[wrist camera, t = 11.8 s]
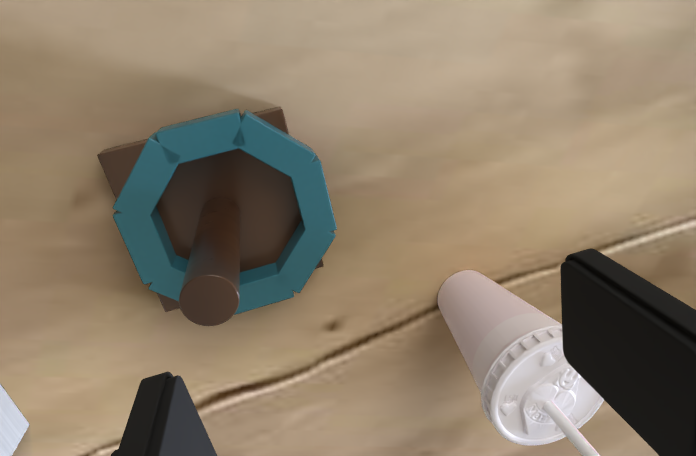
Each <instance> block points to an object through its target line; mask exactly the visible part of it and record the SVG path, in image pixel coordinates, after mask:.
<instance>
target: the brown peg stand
mask: <svg viewBox="0 0 696 456" xmlns="http://www.w3.org/2000/svg"><path fill="white" fill-rule="evenodd" d="M252 114H254V115H256V116H257V117H259V118H261V119H263V120H264V121H266V122H268V123H269V124H271V125H273V126H274V127H276V128H278V129H280V130H281V131H283V132H285V133H286V134H288V135H289V133H288V129H287V125H286V122H285V118H284V114H283V110H282V109H281V107H276V108H272V109H268V110H264V111H260V112H255V113H252ZM147 140H148V139H146V140H142V141H138V142H134V143H130V144H126V145H122V146H118V147H114V148H110V149H106V150H103V151H102V152H101V153H99V154H98V155H97V156H98V158H99V160H100V163H101V165H102V167H103V170H104V172H105V174H106V177H107V179H108V181H109V183H110V186H111V188H112V190H113V193H114V195H115V197H116V200H117V198H118V197H119V195H120V193H121V191H122V189H123V187H124V185H125V183H126V181H127V179H128V177H129V175H130V173H131V171H132V169H133V167H134V165H135V163H136V161H137V159H138V158H139V156H140V154H141V152H142V150H143V148H144V146H145V144H146V142H147ZM156 206H157V209H158V211H159V214H160V216H161V219H162V221H163V224H164V226H165V229H166V231H167V234H168V236H169V239H170V241H171V243H172V246H173V248H174V251H175V253H176V255H178V256H180V257H182V258H184V259H187V260H188V264H187V268H186V272H185V276H184V280H183V284H182V288H181V292H180V296H179V301H176V300H174V299H171V298H169V297H167V296H164V295H162V294H159V293H157V294H158V296H159V298H160V301H161V303H162V305H163V308H164V310H165V312H168V311H171V310H175V309H178V308H180V309H181V311H182V313H183V314H184V315H185V316H186V317H187V318H188V319H189V320H190V321H192V322H194V323H196V324H199V325H203V326H214V325H219V324H222V323H224V322H226V321H227V320H229V319H230V318H231V317H232V316H233V315H234V314H235V312H236V311H237V309H238V306H239V295H240V272H244V271H247V270H251V269H254V268H258V267H261V266H265V265H268V264H272V263H275V262H276V261H277V259H278V258H279V256H280V255H281V253H282V251H283V250H284V248H285V246H286V245H287V243H288V241H289V240H290V238H291V237H292V235H293V233H294V232H295V230H296V228H297V227H298V225H299V224H300V222H301V220H302V219H301V215H300V212H299V208H298V204H297V201H296V197H295V194H294V190H293V186H292V183H291V179H290V177H289V176H287V175H285V174H283V173H282V172H280V171H278V170H276V169H274V168H273V167H271V166H269V165H267V164H265V163H264V162H262V161H260V160H258V159H256V158H255V157H253V156H251V155H249V154H247V153H245V152H244V151H242V150H240V149H235V150H231V151H227V152H223V153H219V154H215V155H212V156H208V157H204V158H200V159H196V160H192V161H188V162H184V163H180V164H178V166H177V168H176V170H175V172H174V173H173V175H172V177H171V179H170V181H169V183H168V185H167V187H166V188H165V190H164V192H163V194H162V196H161V198H160V200H159V201H158V203H157V205H156ZM319 267H323V262H322V259H321V260H320V261H319V263H318V265H317V266H316V268H319ZM316 268H315V269H316Z"/></svg>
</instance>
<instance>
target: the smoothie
mask: <svg viewBox="0 0 696 456" xmlns="http://www.w3.org/2000/svg"><path fill="white" fill-rule="evenodd" d="M437 302H438V307H439V309H440V311H441V313H442V315H443V317H444V319H445V321H446V323H447V325H448V327H449V329H450V331H451V333H452V335H453V337H454V339H455V341H456V343H457V345H458V347H459V349H460V351H461V353H462V355H463V357H464V359H465V361H466V363H467V365H468V368H469V370H470V372H471V374H472V376H473V378H474V380H475V382H476V384H477V386H478V388H479V390H480V392H481V402H482V408H483V410H484V412H485V415H486V417H487V419H488V420H489V421H490V422H491V423H492V424H493V425H494V427H495V428H496V430H497V431H498V432H499V434H500V435H501V436H503V437H504V438H505V439H507V440H509V441H511V442H513V443H516V444H520V445H542V444H547V443H551V442H554V441H557V440H559V439H562V438H564V437H567V438H568V439H569V440H570V441H571V443H572V444H573V445H574V446H575V447H576V448H577V450H578V451H579V452H580V453H581V454H582V456H600V455H599V454H598V453H597V451H596V450H595V449H594V448H593V447H592V446H591V445H590V443H589V442H588V441H587V440H586V439H585V438H584V437H583V435H582V434H581V433H580V432H579V431H578V430H577V429H579V428H580V427H581V426H582V425H584V424H585V423H586V422H587V421H588V420H589V419H590V418H591V417H592V416H593V415H594V414H595V412H596V411H597V410H598V409H599V407H600V405H601V404H602V402H603V401H604V399H603V398H602V397H601V396H600V395H599V394H598V393H597V392H596V391H595V390H594V389H593V388H592V387H591V386H590V385H589V384H588V383H587V382H586V381H585V380H584V379H583V378H582V377H581V376H580V375H579V374H578V373H577V372H576V371H575V369H574V368H573V367H572V366H571V365H570V364H569V363H568V362H567V360H566V358H565V356H564V353H563V338H562V324H560V323H559V322H557V321H556V320H554V319H553V318H551V317H549V316H547V315H546V314H544V313H543V312H541V311H540V310H538V309H536V308H535V307H533V306H532V305H530V304H529V303H527V302H525V301H524V300H522V299H521V298H519V297H518V296H516V295H514V294H513V293H511V292H510V291H508V290H507V289H505V288H503V287H502V286H500V285H499V284H497V283H496V282H494V281H492V280H491V279H489V278H488V277H486V276H484V275H483V274H481V273H480V272H477V271H474V270H464V271H460V272H457V273H455V274H453V275H452V276H450V277H449V278H448V279H447V280H446V281H445V282H444V283H443V285H442V286H441V288H440V290H439V293H438V298H437Z"/></svg>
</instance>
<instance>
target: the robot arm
mask: <svg viewBox="0 0 696 456" xmlns="http://www.w3.org/2000/svg"><path fill="white" fill-rule="evenodd" d="M561 302H562V338H563V353H564V356H565V358H566V360H567V362H568V363H569V364H570V365H571V366H572V367H573V368H574V369H575V371H576V372H577V373H578V374H579V375H580V376H581V377H582V378H583V379H584V380H585V381H586V382H587V383H588V384H589V385H590V386H591V387H592V388H593V389H594V390H595V391H596V392H597V393H598V394H599V395H600V396H601V397H602V398H603V399H604V400H605V401H606V402H607V403H608V404H609V405H610V406H611V407H612V408H613V409H614V410H615V411H616V412H617V413H618V414H619V415H620V416H621V417H622V418H623V419H624V420H625V421H626V422H627V423H628V424H629V425H630V426H631V427H632V428H633V429H634V430H635V431H636V432H637V433H638V434H639V435H640V436H641V437H642V438H643V439H644V440H645V441H646V442H647V443H648V444H649V445H650V446H651V447H652V448H653V449H654V450H655V451H656V452H657V453H658V454H659V456H696V310H695V309H693V308H691V307H690V306H688V305H686V304H685V303H683V302H681V301H680V300H678V299H676V298H675V297H673V296H671V295H670V294H668V293H666V292H665V291H663V290H661V289H660V288H658V287H656V286H655V285H653V284H651V283H650V282H648V281H646V280H645V279H643V278H642V277H640V276H638V275H637V274H635V273H633V272H632V271H630V270H628V269H627V268H625V267H623V266H622V265H620V264H618V263H617V262H615V261H613V260H612V259H610V258H608V257H607V256H605V255H603V254H602V253H600V252H598V251H597V250H594V249H587V250H583V251H580V252H576V253H573V254H570V255H568V256H567V257H566V260H565V262H564V263H562V265H561ZM111 456H217V454H216V452H215V450H214V448H213V445H212V443H211V441H210V439H209V437H208V434H207V432H206V430H205V428H204V426H203V423H202V421H201V419H200V417H199V415H198V412H197V410H196V408H195V406H194V403H193V401H192V399H191V397H190V395H189V392H188V390H187V388H186V386H185V384H184V381H183V379H182V378H181V377H180V376H175V377H173V375H172V374H171V373H170V372H165V373H162V374H158V375H155V376H152V377H148V378H145V379H143V380H142V381H141V383H140V386H139V389H138V392H137V395H136V398H135V401H134V404H133V407H132V410H131V413H130V416H129V419H128V422H127V425H126V428H125V431H124V434H123V437H122V440H121V443H120V446H119V449H118V450H115V451H114V452H113V453H112V454H111Z"/></svg>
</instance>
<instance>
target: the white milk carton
mask: <svg viewBox="0 0 696 456" xmlns="http://www.w3.org/2000/svg"><path fill="white" fill-rule="evenodd" d="M28 426H29V423H28V422H27V420H26V419H25V417H24V416H23V415H22V413H21V412H20V411H19V409H18V408H17V406H16V405H15V404H14V402H13V401H12V400H11V398H10V397H9V395H8V394H7V393H6V391H5V390H4V389H3V387H2V386H1V384H0V456H12V454H13V453H14V451H15V449H16V447H17V446H18V444H19V442H20V440H21V439H22V437H23V435H24V433H25V432H26V430H27V428H28Z"/></svg>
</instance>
